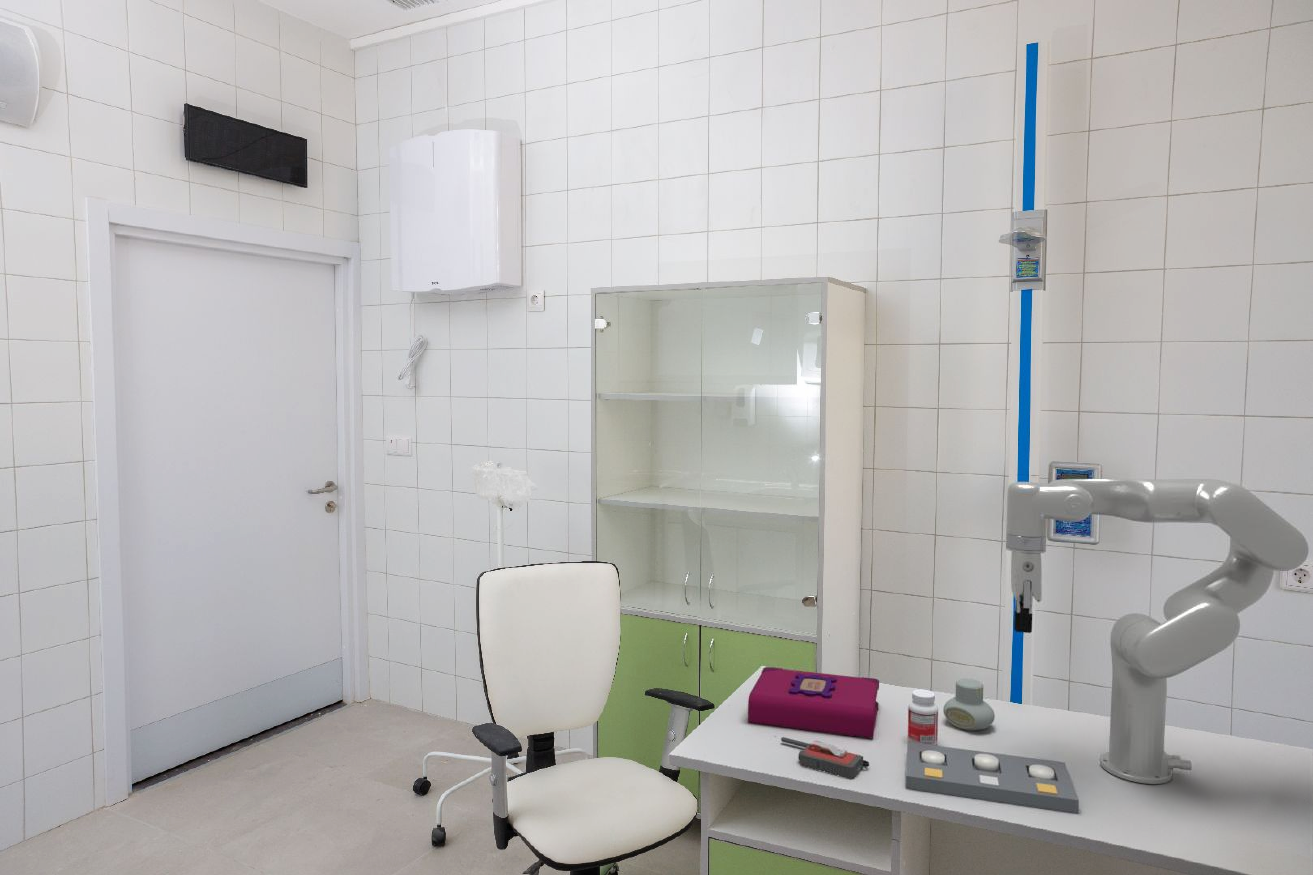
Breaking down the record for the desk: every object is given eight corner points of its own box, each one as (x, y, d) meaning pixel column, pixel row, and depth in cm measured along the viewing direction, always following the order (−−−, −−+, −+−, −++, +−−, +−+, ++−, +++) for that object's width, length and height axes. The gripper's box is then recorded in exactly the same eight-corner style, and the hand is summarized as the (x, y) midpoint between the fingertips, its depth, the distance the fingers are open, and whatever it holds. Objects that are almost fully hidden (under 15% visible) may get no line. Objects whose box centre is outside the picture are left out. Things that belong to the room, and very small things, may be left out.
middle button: (997, 764, 166) (997, 755, 166) (999, 773, 162) (999, 764, 162) (973, 761, 168) (973, 752, 167) (974, 770, 163) (975, 761, 163)
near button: (1052, 775, 163) (1052, 766, 163) (1055, 785, 159) (1055, 776, 159) (1027, 772, 165) (1028, 763, 164) (1030, 782, 160) (1030, 773, 160)
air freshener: (937, 723, 191) (938, 680, 191) (954, 713, 197) (956, 672, 196) (982, 738, 183) (984, 693, 183) (1000, 727, 189) (1001, 684, 188)
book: (873, 742, 182) (874, 708, 181) (747, 725, 191) (747, 693, 190) (878, 707, 202) (879, 676, 201) (764, 693, 211) (764, 664, 210)
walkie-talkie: (873, 766, 170) (783, 743, 181) (873, 745, 170) (783, 723, 181) (858, 783, 163) (765, 758, 174) (858, 761, 163) (765, 737, 174)
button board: (1064, 774, 167) (1064, 760, 166) (1078, 813, 151) (1078, 798, 151) (907, 753, 176) (907, 740, 175) (905, 788, 160) (906, 774, 160)
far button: (944, 760, 169) (944, 752, 169) (944, 770, 165) (944, 761, 165) (921, 757, 171) (921, 749, 171) (921, 766, 166) (921, 758, 166)
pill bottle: (918, 734, 185) (919, 685, 185) (942, 743, 181) (944, 693, 180) (901, 741, 181) (902, 692, 181) (926, 751, 177) (927, 700, 176)
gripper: (1051, 551, 162) (1048, 643, 163) (1040, 537, 176) (1037, 622, 177) (1009, 548, 164) (1006, 640, 165) (1002, 535, 178) (999, 619, 180)
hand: (1022, 630), depth 171 cm, fingers closed
